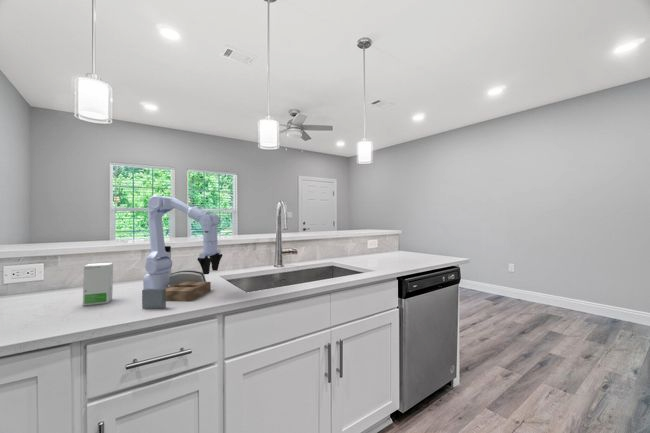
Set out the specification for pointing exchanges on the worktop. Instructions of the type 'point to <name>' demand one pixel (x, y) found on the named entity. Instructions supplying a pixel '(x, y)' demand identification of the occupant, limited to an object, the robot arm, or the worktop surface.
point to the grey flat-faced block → (153, 298)
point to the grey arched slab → (186, 276)
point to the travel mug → (168, 249)
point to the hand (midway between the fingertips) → (210, 272)
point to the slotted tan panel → (187, 290)
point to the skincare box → (97, 283)
